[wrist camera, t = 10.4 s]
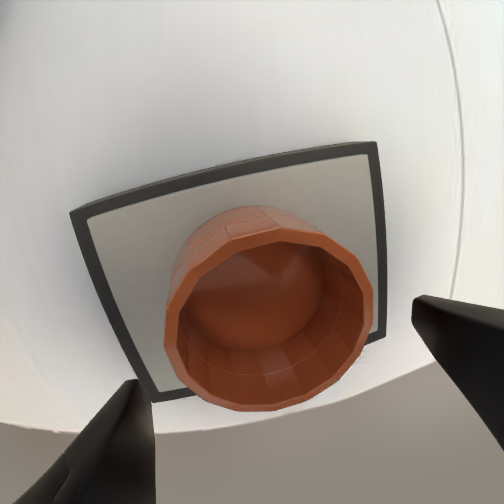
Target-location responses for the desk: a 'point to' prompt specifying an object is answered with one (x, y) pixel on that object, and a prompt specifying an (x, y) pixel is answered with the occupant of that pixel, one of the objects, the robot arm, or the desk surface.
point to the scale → (204, 208)
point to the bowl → (264, 310)
